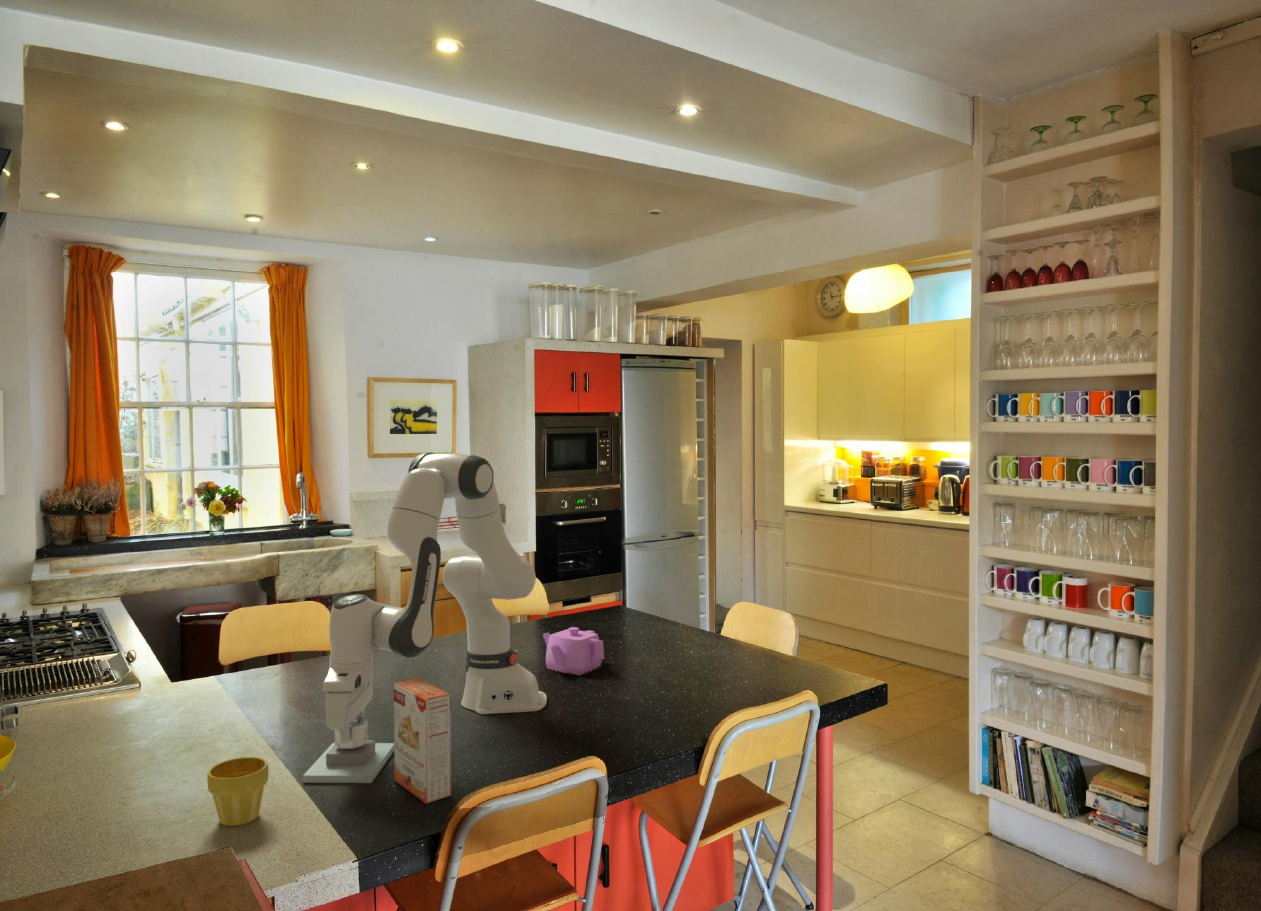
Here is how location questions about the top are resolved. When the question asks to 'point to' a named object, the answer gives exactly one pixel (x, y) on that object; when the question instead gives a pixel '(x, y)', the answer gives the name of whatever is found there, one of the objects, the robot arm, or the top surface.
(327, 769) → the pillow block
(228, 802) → the plant pot
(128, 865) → the top surface
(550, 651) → the teakettle
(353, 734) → the ring
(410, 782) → the cracker box
